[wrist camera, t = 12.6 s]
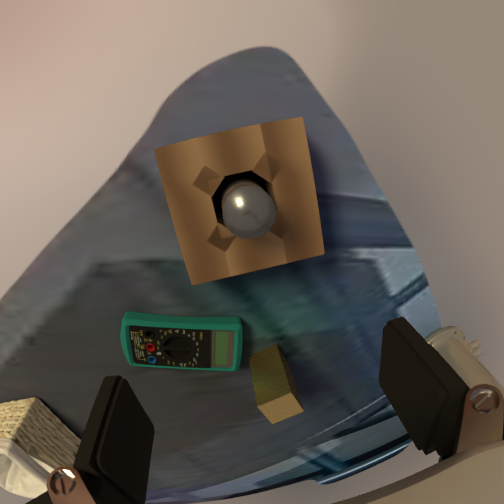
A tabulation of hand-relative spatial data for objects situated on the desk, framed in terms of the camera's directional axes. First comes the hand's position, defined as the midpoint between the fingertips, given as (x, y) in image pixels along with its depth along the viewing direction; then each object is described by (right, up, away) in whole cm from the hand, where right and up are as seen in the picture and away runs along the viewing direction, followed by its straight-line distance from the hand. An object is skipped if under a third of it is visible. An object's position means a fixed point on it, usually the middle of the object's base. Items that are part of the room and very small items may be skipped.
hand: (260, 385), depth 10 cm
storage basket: (-44, -29, +31) cm, 62 cm away
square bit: (+2, -10, +29) cm, 31 cm away
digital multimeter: (-9, -6, +27) cm, 29 cm away
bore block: (-2, +11, +22) cm, 24 cm away
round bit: (-2, +11, +22) cm, 24 cm away
